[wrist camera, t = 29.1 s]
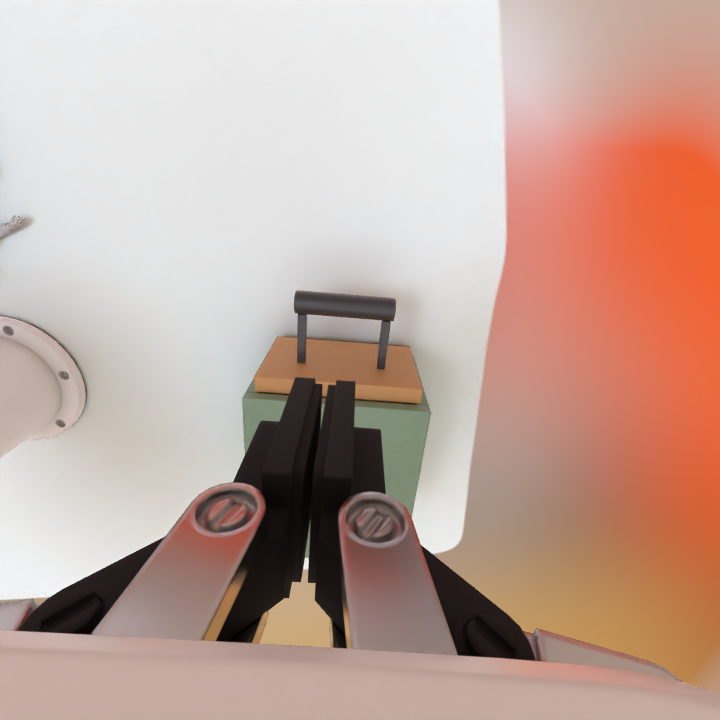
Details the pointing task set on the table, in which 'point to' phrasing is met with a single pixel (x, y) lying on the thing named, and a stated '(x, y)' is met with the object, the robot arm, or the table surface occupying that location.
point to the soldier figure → (11, 225)
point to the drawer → (342, 353)
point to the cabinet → (395, 421)
